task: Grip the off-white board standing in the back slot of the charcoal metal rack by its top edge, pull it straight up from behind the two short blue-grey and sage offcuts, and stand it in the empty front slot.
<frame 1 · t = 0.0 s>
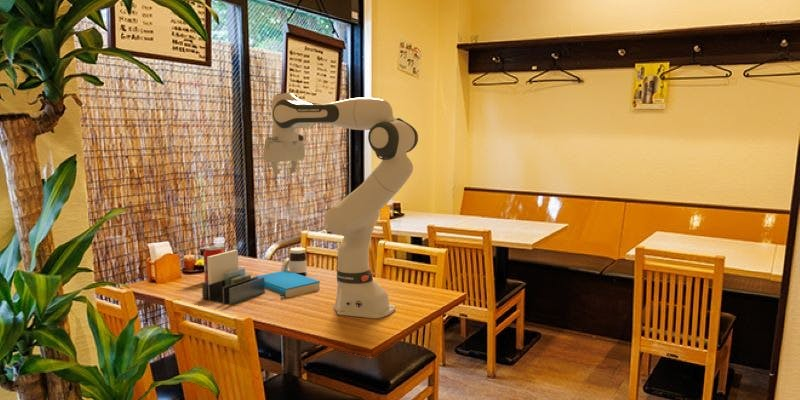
hand: (284, 173, 207), 48 cm above the table, tool pointing down, fingers open, 8 cm apart
rack: (233, 298, 208), on the table
book: (285, 288, 225), on the table
tall sheet: (224, 293, 211), point 1 cm above the table, touching rack
soda can: (214, 283, 231), on the table
striped mug: (294, 274, 246), on the table
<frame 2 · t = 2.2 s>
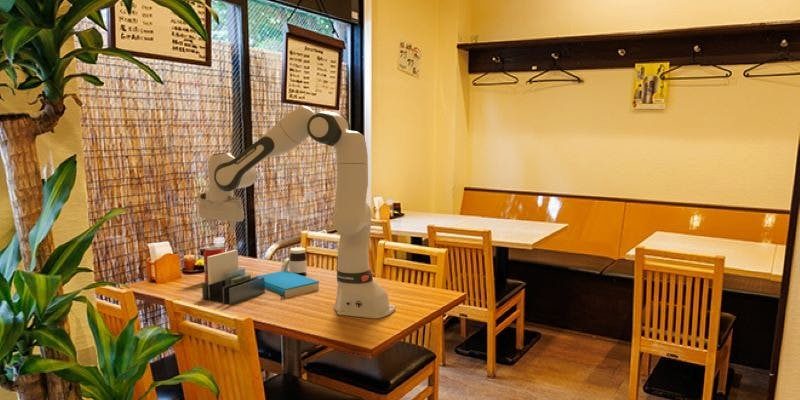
hand: (221, 231, 208), 26 cm above the table, tool pointing down, fingers open, 8 cm apart
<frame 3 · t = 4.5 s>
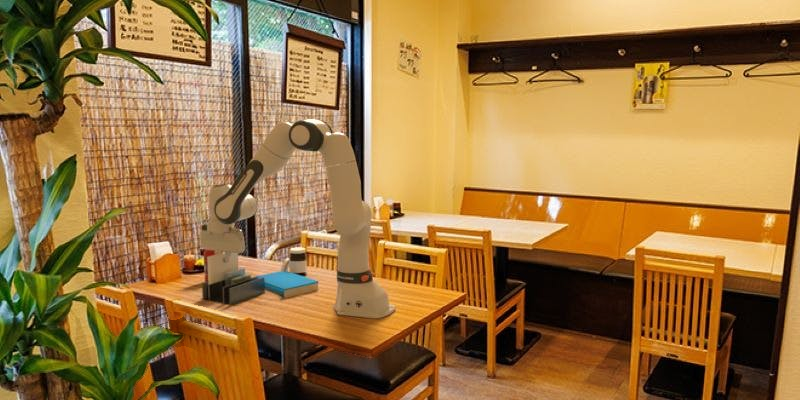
hand: (223, 262, 209), 14 cm above the table, tool pointing down, fingers closed on tall sheet, 2 cm apart
tall sheet: (224, 293, 211), point 1 cm above the table, touching gripper, rack
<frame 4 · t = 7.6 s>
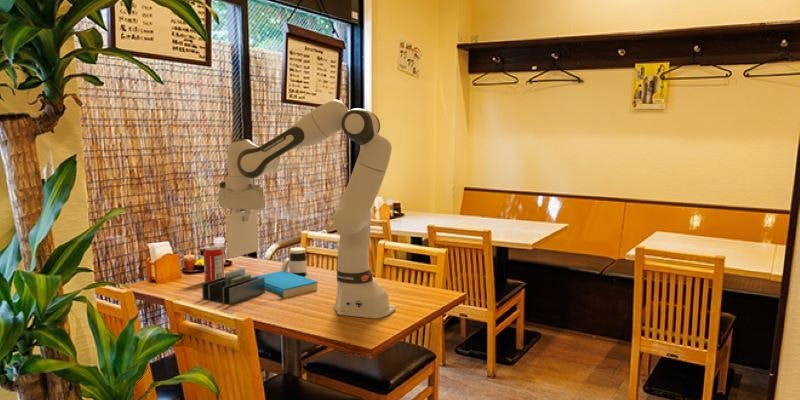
hand: (242, 220, 202), 31 cm above the table, tool pointing down, fingers closed on tall sheet
tall sheet: (243, 254, 204), point 18 cm above the table, touching gripper
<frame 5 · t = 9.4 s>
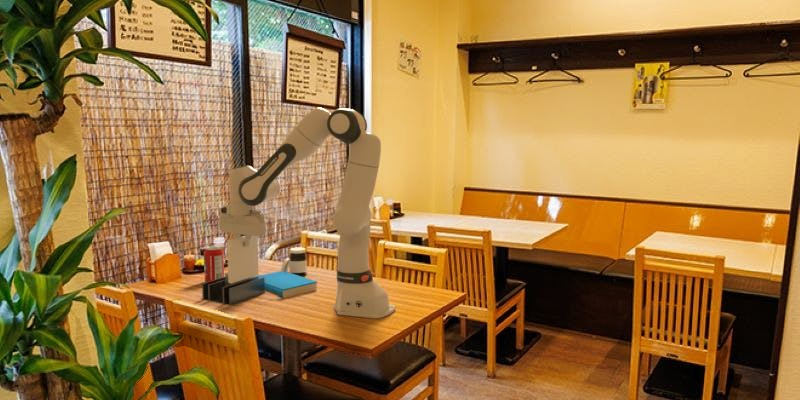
hand: (243, 245, 203), 21 cm above the table, tool pointing down, fingers closed on tall sheet
tall sheet: (243, 278, 205), point 9 cm above the table, touching gripper
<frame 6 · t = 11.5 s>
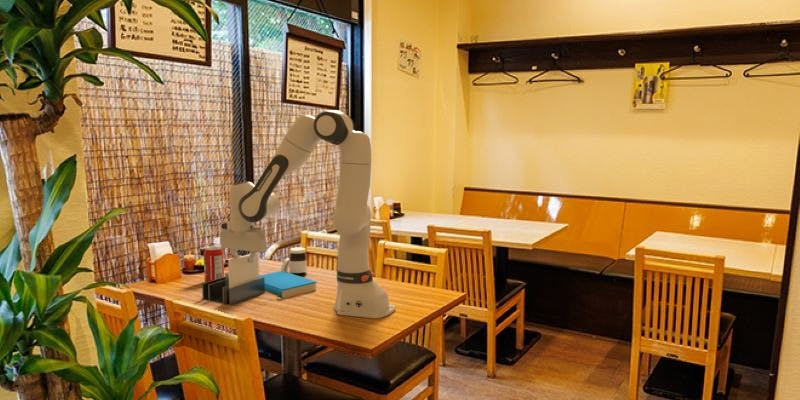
hand: (243, 261, 204), 15 cm above the table, tool pointing down, fingers open, 5 cm apart
tall sheet: (244, 297, 206), point 1 cm above the table, touching rack
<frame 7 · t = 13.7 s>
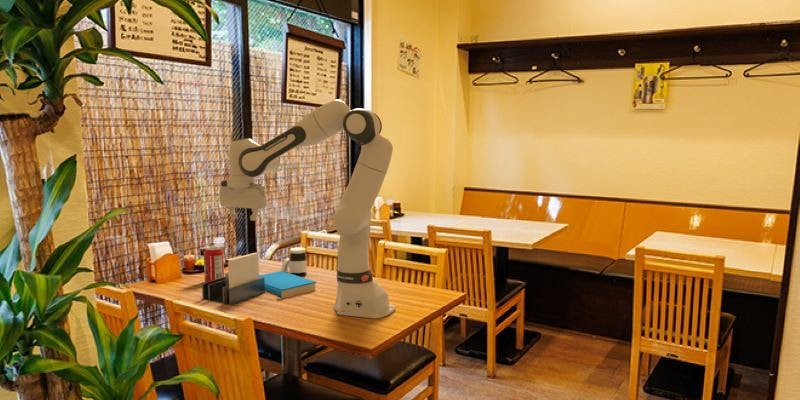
hand: (243, 219, 203), 31 cm above the table, tool pointing down, fingers open, 8 cm apart
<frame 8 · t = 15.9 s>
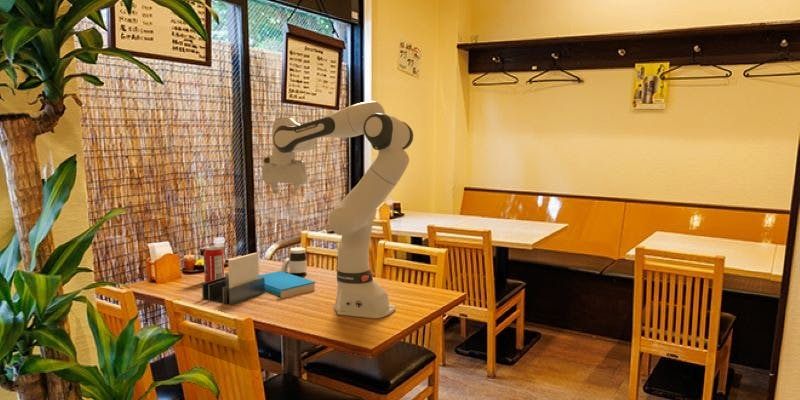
hand: (284, 194, 216), 39 cm above the table, tool pointing down, fingers open, 8 cm apart
at the end: tall sheet 0.1 cm from the target spot on the rack, point 1.2 cm above the rack's base; tall sheet tilted 0°; the gripper is holding nothing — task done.
